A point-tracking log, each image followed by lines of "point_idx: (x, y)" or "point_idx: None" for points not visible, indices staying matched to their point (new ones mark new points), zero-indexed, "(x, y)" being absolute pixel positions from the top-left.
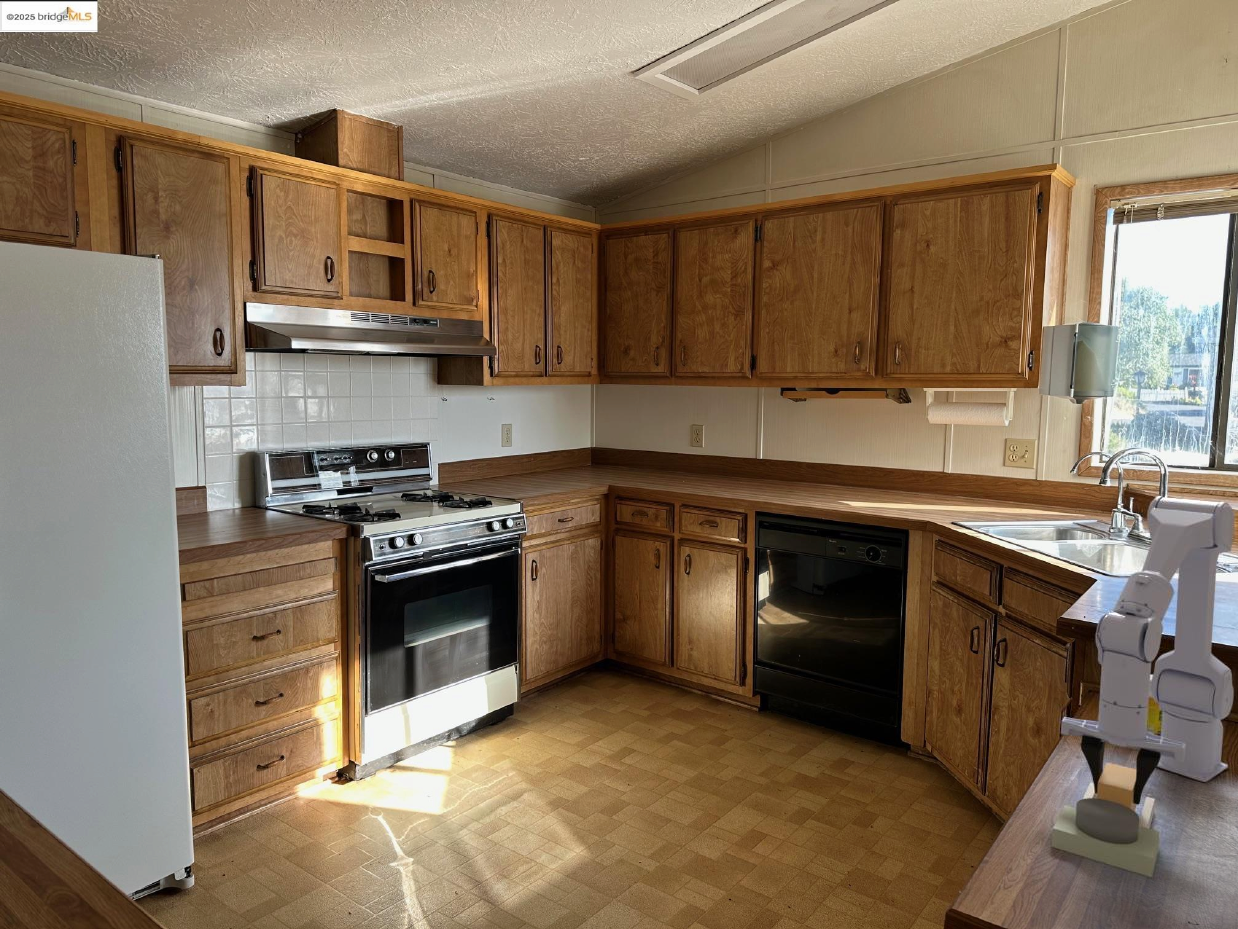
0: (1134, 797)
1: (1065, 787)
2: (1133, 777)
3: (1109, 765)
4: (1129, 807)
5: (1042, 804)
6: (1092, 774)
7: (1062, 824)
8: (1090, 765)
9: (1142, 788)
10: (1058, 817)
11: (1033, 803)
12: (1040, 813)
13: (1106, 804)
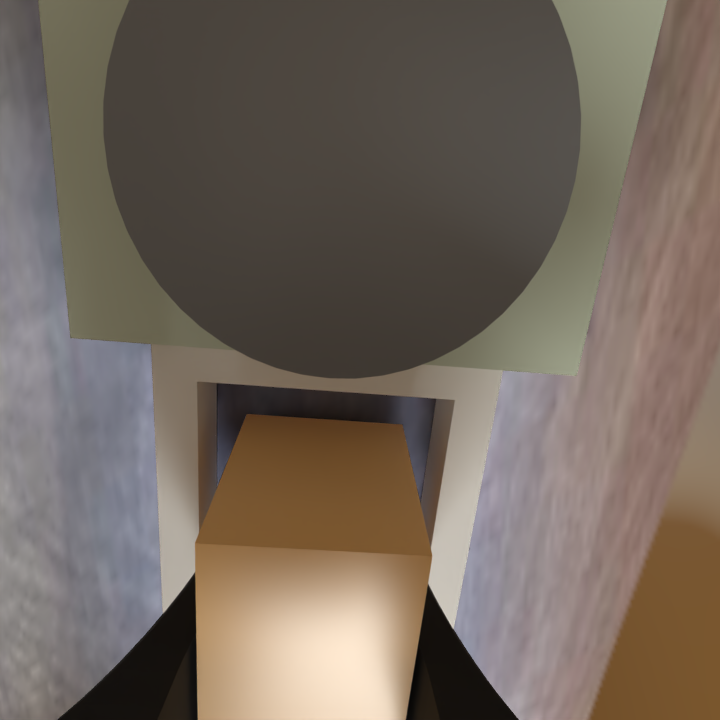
0: None
1: (517, 680)
2: None
3: None
4: (233, 468)
5: (621, 479)
6: (468, 656)
7: (609, 62)
8: (504, 715)
9: (147, 636)
10: (627, 164)
11: (661, 466)
12: (638, 381)
13: (358, 291)
